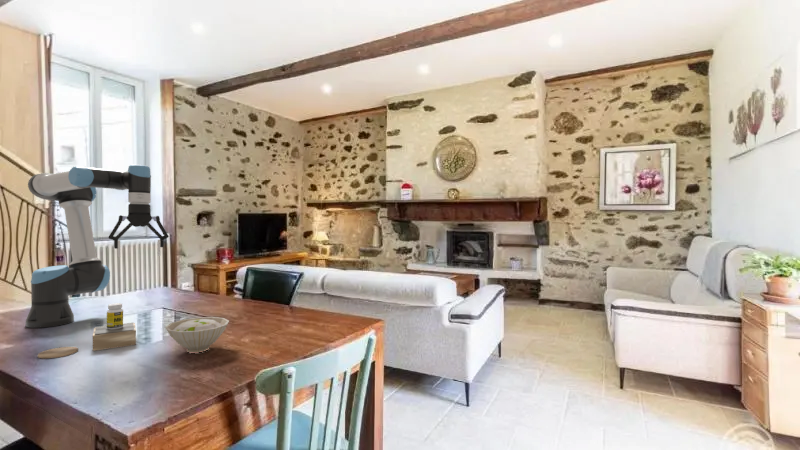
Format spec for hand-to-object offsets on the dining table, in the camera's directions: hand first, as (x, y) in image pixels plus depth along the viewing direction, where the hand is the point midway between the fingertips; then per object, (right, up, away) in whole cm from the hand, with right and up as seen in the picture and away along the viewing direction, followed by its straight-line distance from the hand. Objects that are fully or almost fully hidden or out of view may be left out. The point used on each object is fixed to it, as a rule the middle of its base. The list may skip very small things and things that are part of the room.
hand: (139, 256), depth 162 cm
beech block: (+5, -29, -21) cm, 36 cm away
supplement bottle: (+5, -24, -20) cm, 32 cm away
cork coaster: (-6, -29, -32) cm, 43 cm away
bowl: (+37, -30, -27) cm, 55 cm away
